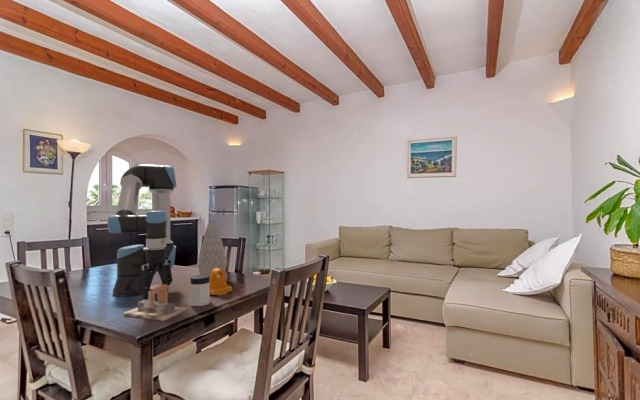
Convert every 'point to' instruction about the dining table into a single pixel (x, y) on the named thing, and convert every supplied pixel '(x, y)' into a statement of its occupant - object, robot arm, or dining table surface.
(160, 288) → the clip
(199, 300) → the jar
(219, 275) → the bracket
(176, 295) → the dining table surface
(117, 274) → the robot arm
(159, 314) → the rail board
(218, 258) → the vase
